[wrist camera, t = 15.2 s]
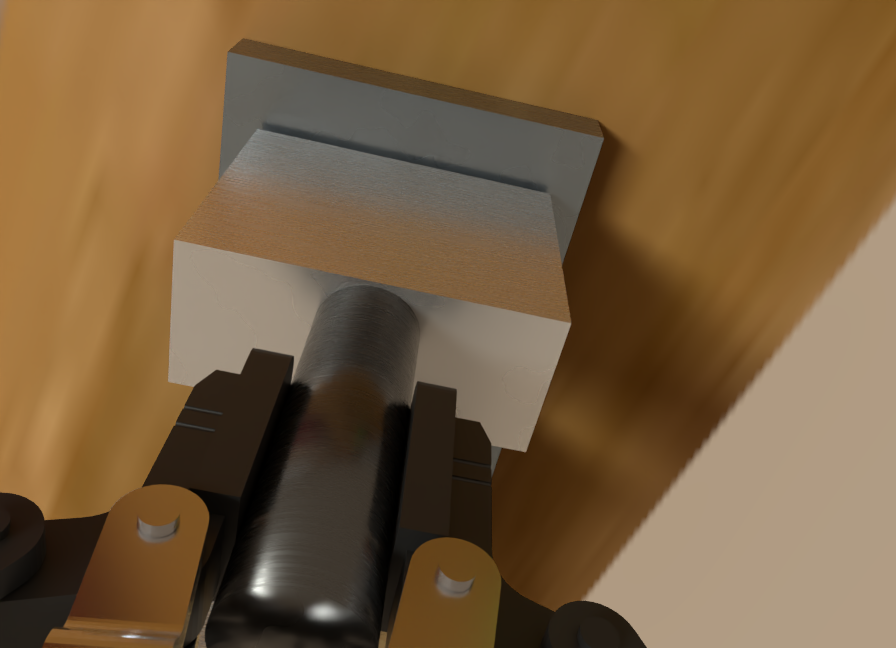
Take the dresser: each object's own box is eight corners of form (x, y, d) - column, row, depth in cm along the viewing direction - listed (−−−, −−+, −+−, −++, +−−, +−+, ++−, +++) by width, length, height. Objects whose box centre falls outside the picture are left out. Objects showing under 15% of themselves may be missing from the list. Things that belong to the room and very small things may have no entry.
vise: (454, 563, 32) (444, 775, 25) (204, 516, 32) (120, 722, 24) (597, 120, 23) (647, 259, 16) (242, 38, 22) (122, 144, 15)
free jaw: (516, 301, 24) (545, 791, 12) (246, 244, 23) (-15, 700, 11) (549, 193, 22) (624, 643, 10) (257, 128, 21) (-40, 523, 9)
